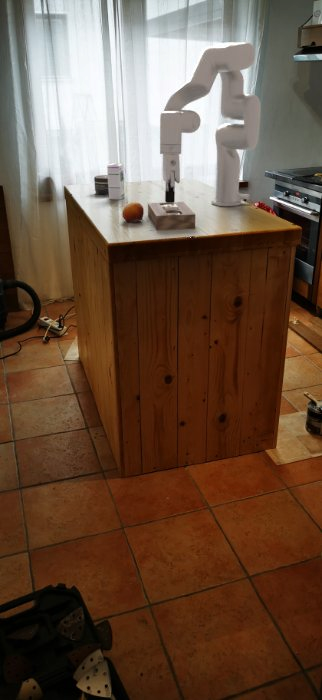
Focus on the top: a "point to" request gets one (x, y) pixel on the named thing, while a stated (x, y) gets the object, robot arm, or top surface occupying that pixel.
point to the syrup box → (115, 181)
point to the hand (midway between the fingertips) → (169, 202)
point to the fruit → (133, 212)
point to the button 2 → (171, 207)
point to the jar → (101, 184)
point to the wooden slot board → (171, 216)
